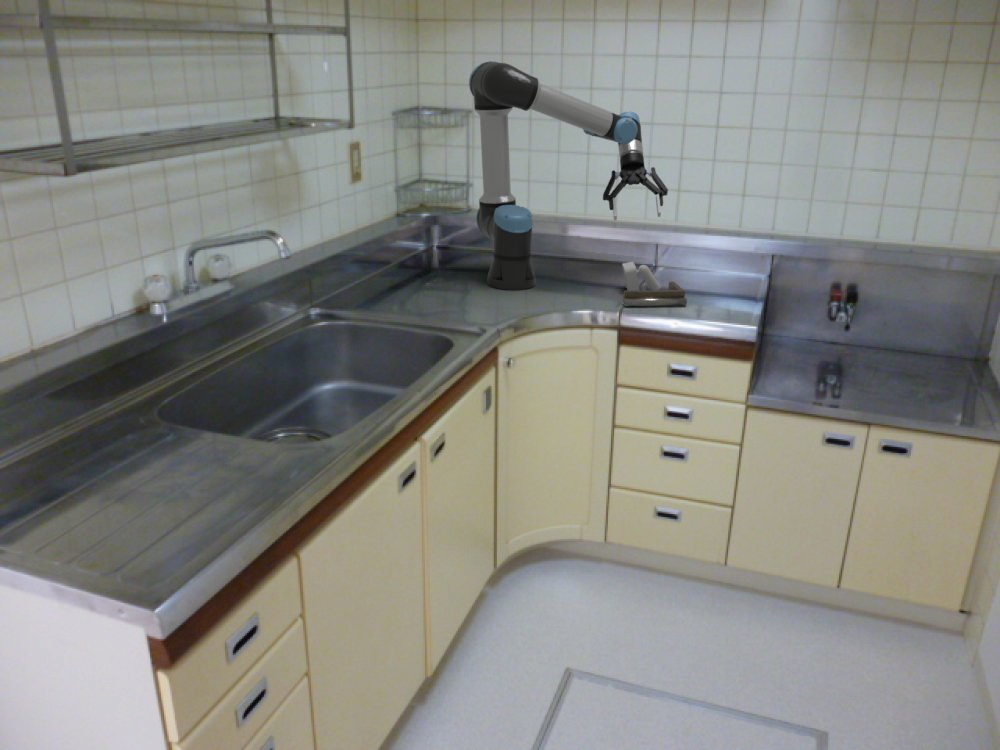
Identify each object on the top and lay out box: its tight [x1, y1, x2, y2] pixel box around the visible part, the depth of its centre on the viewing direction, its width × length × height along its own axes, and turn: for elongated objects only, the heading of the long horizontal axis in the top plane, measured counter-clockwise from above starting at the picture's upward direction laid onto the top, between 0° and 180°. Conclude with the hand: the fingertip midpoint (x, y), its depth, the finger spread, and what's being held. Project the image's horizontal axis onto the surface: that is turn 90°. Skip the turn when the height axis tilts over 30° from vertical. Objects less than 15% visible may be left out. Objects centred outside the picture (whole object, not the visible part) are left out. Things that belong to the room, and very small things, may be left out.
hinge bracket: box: [622, 281, 688, 307], centre depth 247 cm, size 18×13×4 cm
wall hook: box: [621, 261, 662, 291], centre depth 255 cm, size 8×10×10 cm
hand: (637, 216), depth 260 cm, fingers open, 13 cm apart
